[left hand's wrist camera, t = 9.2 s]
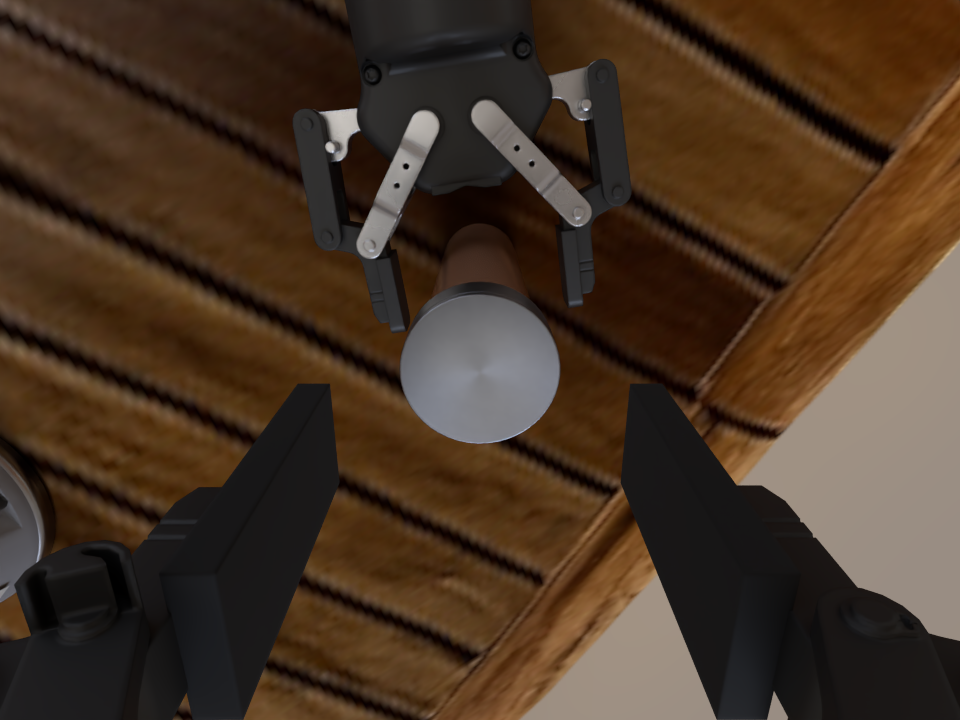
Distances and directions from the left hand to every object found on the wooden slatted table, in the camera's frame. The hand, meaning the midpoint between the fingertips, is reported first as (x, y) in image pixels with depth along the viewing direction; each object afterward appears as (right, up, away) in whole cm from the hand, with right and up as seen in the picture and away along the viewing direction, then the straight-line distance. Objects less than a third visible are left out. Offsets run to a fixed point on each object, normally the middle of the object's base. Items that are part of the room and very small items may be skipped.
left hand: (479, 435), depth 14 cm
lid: (0, +2, +4) cm, 4 cm away
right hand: (0, +4, +15) cm, 15 cm away
